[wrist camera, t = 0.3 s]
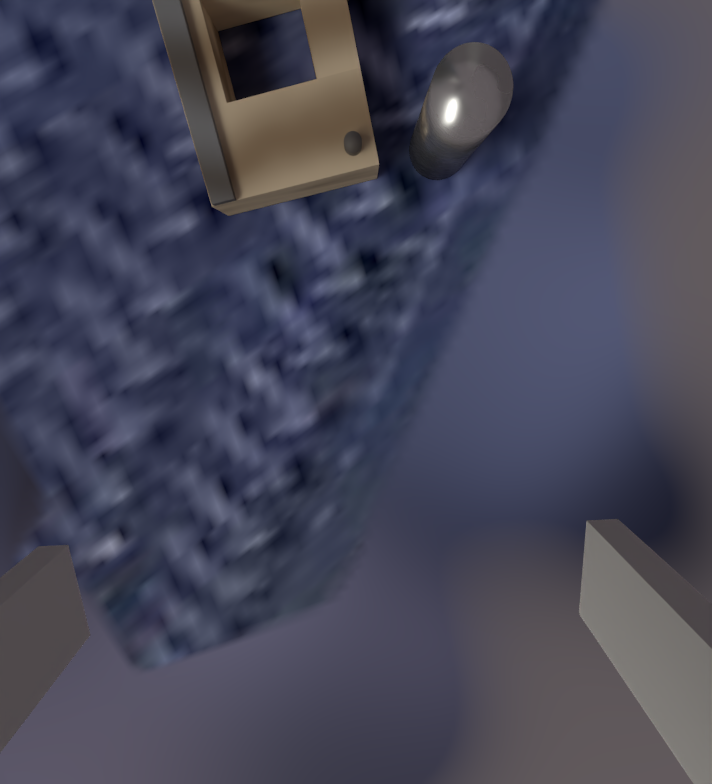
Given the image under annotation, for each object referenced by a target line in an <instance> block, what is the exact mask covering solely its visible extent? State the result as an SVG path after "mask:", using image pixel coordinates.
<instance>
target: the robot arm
mask: <svg viewBox="0 0 712 784" xmlns="http://www.w3.org/2000/svg"><path fill="white" fill-rule="evenodd" d="M579 614H580V616H581V617H582V619H583V620H584V622H585V623H586V625H587V626H588V628H589V629H590V631H591V632H592V634H593V635H594V637H595V638H596V640H597V641H598V643H599V644H600V646H601V647H602V648H603V650H604V652H605V653H606V655H607V656H608V658H609V659H610V660H611V662H612V663H613V665H614V666H615V668H616V669H617V671H618V672H619V674H620V675H621V677H622V678H623V680H624V681H625V683H626V684H627V686H628V687H629V689H630V690H631V692H632V693H633V695H634V696H635V697H636V699H637V701H638V702H639V703H640V705H641V706H642V708H643V709H644V711H645V712H646V714H647V715H648V717H649V718H650V720H651V721H652V723H653V724H654V726H655V727H656V729H657V730H658V731H659V733H660V735H661V736H662V738H663V739H664V740H665V742H666V743H667V745H668V746H669V748H670V750H671V751H672V752H673V754H674V755H675V757H676V758H677V760H678V761H679V763H680V764H681V766H682V767H683V769H684V770H685V772H686V773H687V775H688V776H689V778H690V779H691V781H692V782H693V784H712V603H711V602H709V601H708V600H707V599H706V598H705V597H704V596H703V595H701V594H700V593H699V592H698V591H697V590H696V589H695V588H694V587H693V586H692V585H690V584H689V583H688V582H687V581H686V580H685V579H684V578H683V577H682V576H680V575H679V574H678V573H677V572H676V571H675V570H674V569H673V568H672V567H670V566H669V565H668V564H667V563H666V562H665V561H664V560H663V559H661V558H660V557H659V556H658V555H657V554H656V553H655V552H654V551H653V550H651V549H650V548H649V547H648V546H647V545H646V544H645V543H644V542H643V541H641V540H640V539H639V538H638V537H637V536H636V535H635V534H634V533H633V532H631V531H630V530H629V529H628V528H627V527H626V526H625V525H624V524H623V523H621V522H620V521H619V520H618V519H610V520H589V521H587V524H586V536H585V548H584V560H583V572H582V584H581V595H580V607H579ZM89 636H90V632H89V627H88V624H87V619H86V615H85V611H84V607H83V603H82V599H81V595H80V591H79V587H78V583H77V579H76V575H75V571H74V567H73V563H72V559H71V555H70V551H69V547H68V545H60V546H39V547H37V548H36V549H35V550H34V551H32V552H31V553H30V554H29V555H28V556H26V557H25V558H24V559H23V560H21V561H20V562H19V563H18V564H16V565H15V566H14V567H13V568H12V569H10V570H9V571H8V572H7V573H5V574H4V575H3V576H2V577H1V578H0V752H1V751H2V750H3V748H4V747H5V746H6V745H7V743H8V742H9V741H10V739H11V738H12V736H13V735H14V734H15V733H16V731H17V730H18V729H19V728H20V726H21V725H22V724H23V722H24V721H25V720H26V718H27V717H28V716H29V714H30V713H31V712H32V710H33V709H34V708H35V707H36V705H37V704H38V703H39V701H40V700H41V699H42V698H43V696H44V695H45V693H46V692H47V691H48V690H49V688H50V687H51V686H52V684H53V683H54V682H55V680H56V679H57V678H58V677H59V675H60V674H61V673H62V671H63V670H64V669H65V667H66V666H67V665H68V664H69V662H70V661H71V660H72V658H73V657H74V656H75V654H76V653H77V652H78V650H79V649H80V648H81V647H82V645H83V644H84V642H85V641H86V640H87V639H88V637H89Z"/></svg>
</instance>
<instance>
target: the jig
mask: <svg viewBox="0 0 712 784" xmlns="http://www.w3.org/2000/svg"><path fill="white" fill-rule="evenodd" d="M152 1H153V4H154V8H155V11H156V15H157V18H158V22H159V25H160V29H161V32H162V36H163V39H164V43H165V46H166V49H167V53H168V56H169V60H170V63H171V67H172V70H173V74H174V77H175V81H176V84H177V88H178V91H179V94H180V98H181V101H182V105H183V108H184V112H185V115H186V119H187V122H188V126H189V129H190V133H191V136H192V139H193V143H194V146H195V150H196V153H197V157H198V160H199V164H200V167H201V171H202V174H203V178H204V181H205V185H206V188H207V191H208V195H209V198H210V202H211V205H212V207H213V208H215V209H217V210H219V211H221V212H223V213H224V214H226V215H228V216H230V215H234V214H238V213H242V212H246V211H250V210H254V209H258V208H262V207H266V206H270V205H274V204H278V203H282V202H286V201H290V200H294V199H298V198H302V197H306V196H310V195H314V194H318V193H322V192H326V191H330V190H334V189H338V188H342V187H346V186H349V185H353V184H357V183H361V182H365V181H369V180H373V179H377V175H378V169H379V160H378V155H377V150H376V145H375V140H374V135H373V130H372V125H371V119H370V114H369V109H368V104H367V99H366V94H365V89H364V84H363V79H362V74H361V69H360V64H359V59H358V54H357V48H356V43H355V38H354V33H353V28H352V23H351V18H350V13H349V8H348V3H347V0H152ZM300 8H301V10H302V15H303V19H304V24H305V29H306V33H307V38H308V42H309V47H310V51H311V56H312V60H313V65H314V69H315V74H316V79H315V80H311V81H308V82H304V83H300V84H296V85H293V86H289V87H285V88H281V89H278V90H274V91H270V92H266V93H263V94H259V95H255V96H251V97H248V98H244V99H240V100H236V98H235V95H234V91H233V87H232V83H231V79H230V75H229V72H228V68H227V64H226V60H225V56H224V52H223V49H222V45H221V41H220V37H219V33H218V31H221V30H225V29H228V28H232V27H235V26H239V25H243V24H246V23H250V22H253V21H257V20H261V19H264V18H268V17H272V16H275V15H279V14H282V13H286V12H290V11H293V10H297V9H300Z"/></svg>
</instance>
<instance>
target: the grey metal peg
mask: <svg viewBox="0 0 712 784" xmlns="http://www.w3.org/2000/svg"><path fill="white" fill-rule="evenodd" d="M512 94H513V78H512V73H511V70H510V67H509V65H508V63H507V61H506V60H505V58H504V57H503V56H502V54H501V53H500V52H498V51H497V50H496V49H495V48H493V47H491V46H489V45H487V44H483V43H477V42H472V43H466V44H463V45H460V46H458V47H456V48H454V49H453V50H451V51H450V52H449V53H448V54H446V55H445V57H444V58H443V59H442V60H441V62H440V63H439V65H438V66H437V68H436V70H435V73H434V76H433V78H432V81H431V84H430V87H429V90H428V92H427V95H426V98H425V101H424V104H423V106H422V109H421V112H420V115H419V118H418V120H417V123H416V126H415V129H414V132H413V134H412V137H411V140H410V146H409V154H410V159H411V162H412V164H413V166H414V168H415V169H416V170H417V172H418V173H419V174H421V175H422V176H424V177H425V178H428V179H431V180H442V179H446V178H448V177H450V176H452V175H453V174H455V173H456V172H457V171H458V170H459V168H460V167H461V166H462V165H463V164H464V163H465V161H466V160H467V159H468V158H469V157H470V156H471V154H472V153H473V152H474V151H475V150H476V149H477V147H478V146H479V145H480V144H481V143H482V142H483V140H484V139H485V138H486V137H487V136H488V135H489V133H490V132H491V131H492V130H493V129H494V128H495V126H496V125H497V124H498V123H499V122H500V121H501V119H502V118H503V117H504V115H505V114H506V112H507V110H508V108H509V105H510V103H511V99H512Z"/></svg>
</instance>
